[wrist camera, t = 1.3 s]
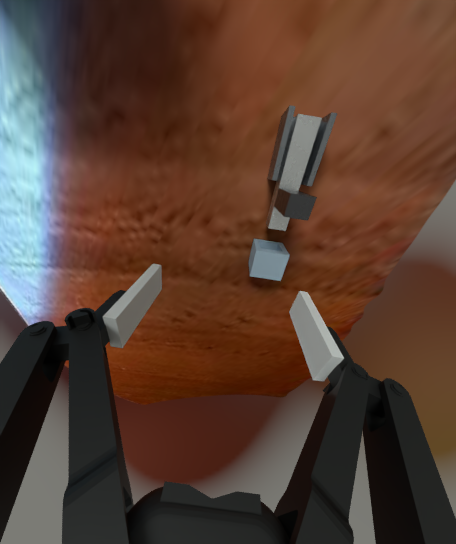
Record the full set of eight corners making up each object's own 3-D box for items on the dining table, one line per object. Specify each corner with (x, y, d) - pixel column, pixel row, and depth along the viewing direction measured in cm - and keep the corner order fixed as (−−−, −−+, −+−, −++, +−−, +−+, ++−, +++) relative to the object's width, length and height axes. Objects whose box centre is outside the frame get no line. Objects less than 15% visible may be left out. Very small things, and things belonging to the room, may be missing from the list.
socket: (253, 238, 39) (256, 250, 33) (282, 242, 39) (289, 255, 33) (248, 261, 42) (249, 276, 36) (275, 265, 42) (280, 280, 36)
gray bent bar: (291, 120, 27) (321, 91, 17) (312, 123, 27) (354, 96, 17) (265, 223, 35) (275, 243, 26) (281, 226, 36) (297, 247, 26)
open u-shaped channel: (281, 116, 28) (289, 105, 23) (321, 122, 28) (337, 113, 23) (267, 178, 32) (271, 180, 28) (301, 184, 32) (311, 186, 28)
